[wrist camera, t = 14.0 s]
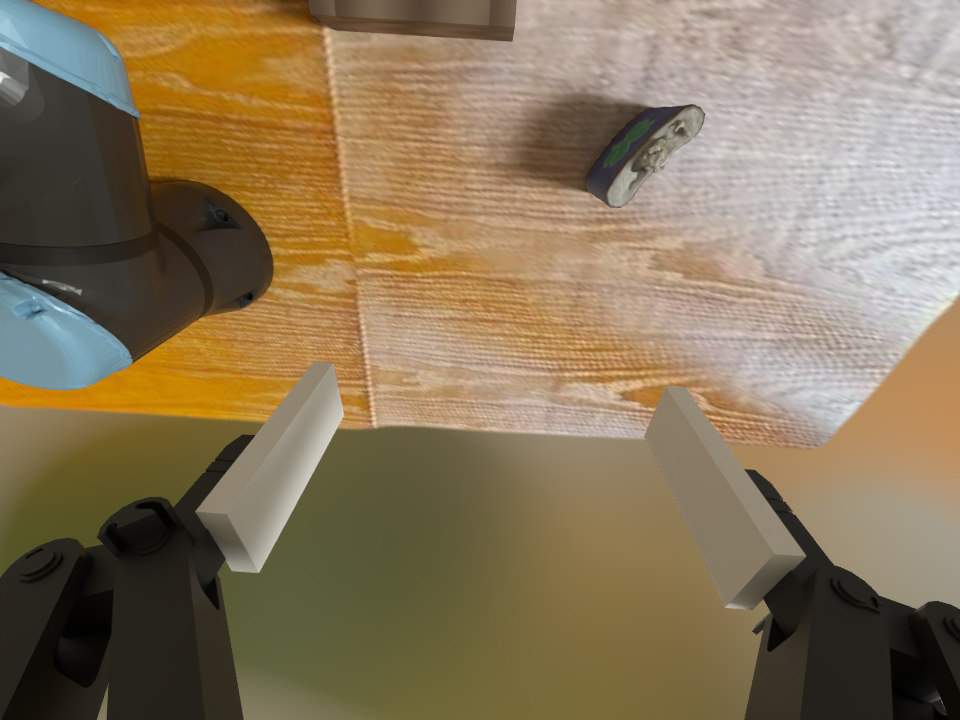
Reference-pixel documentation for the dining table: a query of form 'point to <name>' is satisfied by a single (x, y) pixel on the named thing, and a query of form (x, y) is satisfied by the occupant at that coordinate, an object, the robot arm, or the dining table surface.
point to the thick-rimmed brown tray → (421, 17)
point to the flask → (641, 151)
